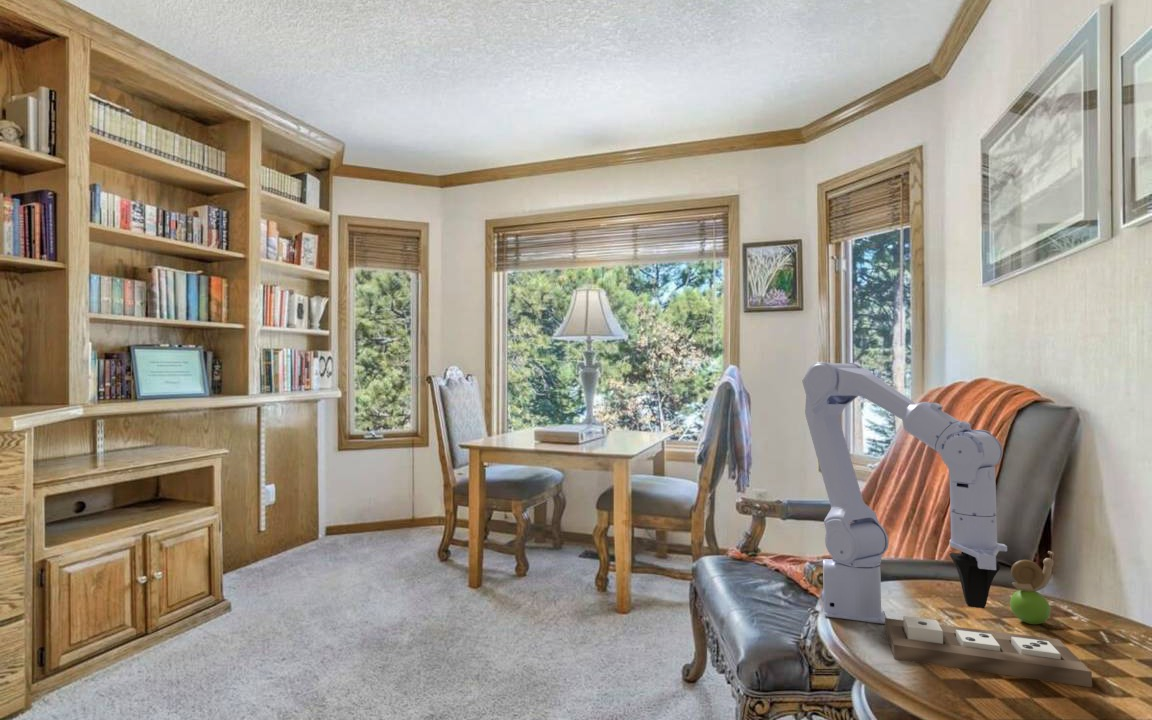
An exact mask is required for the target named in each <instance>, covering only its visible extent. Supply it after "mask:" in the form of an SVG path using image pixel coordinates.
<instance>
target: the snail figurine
mask: <svg viewBox="0 0 1152 720" xmlns="http://www.w3.org/2000/svg"><path fill="white" fill-rule="evenodd" d="M1047 554H1048V555H1050V556H1051V557H1045V558H1044V559H1043V561H1042V563H1043V569H1042V568H1041V566H1039V564H1037V563H1036V562H1034V561H1032V560H1030V559H1020V560H1017V561H1016V562H1014V563H1013V564H1012V566H1011V567H1010V574H1011V577H1012V578H1013V580H1014V581H1015V582H1014V581H1013V582H1012V583H1011V584H1012V586H1013V587H1014V588H1016V591H1015V592H1013V593H1012V594H1011V596H1010V599H1009V607H1010V609H1011V611H1012V614H1013V615H1014V616H1015V617H1016V618H1017V619H1018V620H1020V621H1022V622H1024V623H1025V624H1030V625H1040V624H1043V623H1045V622H1046V621H1048V619H1049V617H1050V616H1051V606H1050V603H1049V602H1048V599H1046V598H1045V596H1043V595H1042V594H1041V593H1040V592H1038V591H1040V590H1043V589H1045V587H1047V586H1048V584H1049V582H1050V579H1051V576H1052V571H1053V567H1054V558H1053V556H1054V555H1055V553H1054V552H1053V551H1051V550H1048V551H1047Z"/></svg>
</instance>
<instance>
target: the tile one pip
mask: <svg viewBox="0 0 1152 720" xmlns="http://www.w3.org/2000/svg"><path fill="white" fill-rule="evenodd" d="M902 618H903V619H902V620H904V634H905V637H906V639H911V640H918V641H926V642H933V643H941V644H943V631H942V629H941V627H940V625H941V624H940V623H939V621H938V620H936V619H928V618H922V617H914V616H903V617H902Z"/></svg>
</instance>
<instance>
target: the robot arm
mask: <svg viewBox="0 0 1152 720" xmlns="http://www.w3.org/2000/svg"><path fill="white" fill-rule="evenodd" d="M802 385H803V389H804V393H805V409H804V414H805V419H806V421H807V422H806V423H807V426H808V430H809V433H810V436H811V437H810V438H811V440H812V443H813V447H814V451H815V455H816V457H817V462H818V465H819V469H820V473H821V476H822V480H823V483H824V486H825V490H826V494H827V498H828V501H829V505H830V510H829V511H828V513H827V515H826V517H825V518H824V520H823V524H824V527H825V537H824V544H825V547H826V550H827V552H828V553H829V555H830V556H831V557H832V558H830V559H829V558H824V559H822V572H823V575H822V579H823V580H822V581H823V582H822V583H823V589H822V590H821V602H823V609H824V611H823V612H824V616H825V617H828V618H834V619H843V620H844V619H845V620H851V621H859V622H868V623H874V624H882V625H883V624H884V625H885V618H886V616H885V612H884V610H883V607H882V589H881V588H882V584H881V583H882V582H881V562H882V556H883V555H884V554H885V553H886V552H887V551H888V549H889V546H890V545H889V542H890V541H889V540H890V539H889V536H888V533H887V531H886V529H885V528H884V526H882V525H881V523H880V521H879V519H878V516H877V514H876V513H877V512H875V511H874V510H873V509H872V508H871V507H869V506H868V505H867V504H866V503H865V501H864V499H863V495H862V492H861V489H860V486H859V482H858V478H857V476H856V472H855V469H854V465H853V462H852V457H851V456H850V452H849V448H848V445H847V442H846V438H845V436H844V435H845V434H844V431H843V428H842V425H841V421H840V416H841V414H842V413H843V412H844V410H845V408H846V407H848V406H849V405H850V404H851V403H852V402H854V400H855V399H857V398H858V397H862V398H864V399H866V400H868V401H869V402H871V403H873V404H874V405H876V406H878V407H880V408H881V409H883V410H885V411H887V412H889V413H890V414H892V415H893V416H895V417H897V418H898V419H900V420H902V421H901V422H902V425H903V430H904V431H905V432H907V433H909V434H910V435H911V436H913V437H914V438H916V439H917V440H919V441H920V442H922V443H924V445H926V446H928V447H929V448H931V449H932V450H934V451H936V452H937V453H938V454H940V457H941V460H942V461H943V463H944V465H946V466H947V469H948V477H949V498H950V499H949V503H950V504H949V506H950V507H949V512H950V514H949V516H950V539H949V546H950V547H951V548H953V549H955V550H958V551H959V552H950V553H949V557H950V558H951V560H952V562H953V565H954V566H955V569H956V571H957V574H958V576H959V577H958V578H959V581H960V585H961V590H962V593H963V597H964V601H965V603H966V605H967V607H970V608H977V609H985V608H986V605H987V602H988V599H989V598H988V597H989V595H990V594H989V593H990V589H991V585H992V582H993V581H994V578H995V577H996V575H997V574H998V572H999V571H1000V569H1001V564H1000V563H999V562H998V561H997V555H998V554H999V552H1008V546H1007V545H1006V544H1004V543H999V542H998V530H997V529H998V525H997V524H998V523H997V521H998V519H997V488H996V487H997V485H996V483H997V482H996V467H995V466H997V465H998V464H999V463H1000V462H1001V459H1002V457H1003V446H1002V444H1001V442H1000V440H998V438H996V436H995V435H993V434H992V433H991V431H989V430H985V429H972V428H971V426H972V423H969V422H968V421H966V420H962V421H961V420H959V419H957V418H956V417H954V416H952V415H951V414H949V413H947V412H945V411H943V408H944V406H943V405H941V404H940V403H938V402H931V403H930V401H929V402H928V401H922V402H918V403H916V402H914V400H911V399H910V398H909V397H907V396H906V395H904V394H903V393H901V392H900V391H898V390H897V389H895V388H894V387H893V386H891V385H889V384H888V383H886V382H885V381H884V380H882V379H880V378H879V377H878V376H876V374H874V373H873V372H872V371H871V370H868V369H867V368H865V367H864V368H863V367H862V366H861V365H859V364H857V363H854V362H847V363H838V362H836V363H835V362H834V363H833V362H826V361H817V362H815V363H813V364H812V365H811V366H810V367H809V368H808V370H807V372H806V373H805V375H804V376H803V379H802ZM960 552H961V553H960Z"/></svg>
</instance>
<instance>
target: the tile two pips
mask: <svg viewBox="0 0 1152 720" xmlns="http://www.w3.org/2000/svg"><path fill="white" fill-rule="evenodd" d="M956 638H957V640H958V642H959V643H960V645H961V646H963V647H971V648H979V649H986V650H994V651H1000V645H999V644H998V643H997V641H996V640H995V639H994V637H993V636H992V635H991V634H986V633H978V632H970V631H962V630H956Z"/></svg>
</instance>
